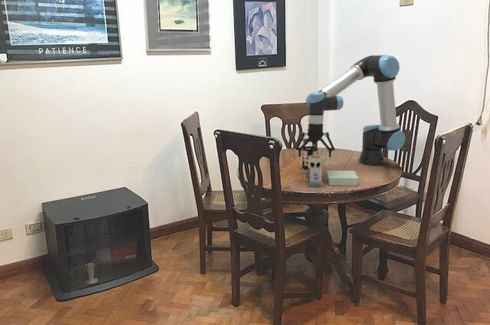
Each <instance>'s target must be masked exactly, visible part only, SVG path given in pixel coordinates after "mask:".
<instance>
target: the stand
mask: <svg viewBox="0 0 490 325" xmlns="http://www.w3.org/2000/svg"><path fill="white" fill-rule="evenodd" d="M326 178H327V182H328V185H329V186H341V187H342V186H344V187H345V186H347V187H350V186H351V187H352V186H354V187H355V186H357V187H358V183H359V182H358V180H359V176H358V175H357V173H356V171H355V170H326Z"/></svg>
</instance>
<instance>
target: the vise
mask: <svg viewBox="0 0 490 325" xmlns="http://www.w3.org/2000/svg"><path fill="white" fill-rule="evenodd" d="M309 172H310V180H309V181H307V187H310V188H311V187H312V188H324V187H325V184H324V182H323V180H322V179H323V166H322V167H310V169H309V168H308V169H307V172H305V178H309Z"/></svg>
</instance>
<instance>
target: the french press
mask: <svg viewBox="0 0 490 325" xmlns="http://www.w3.org/2000/svg"><path fill="white" fill-rule="evenodd" d="M306 131H308V128H307V129H306ZM308 138H309V137H304V138H303V140H302V142H303V143H304V142H305V141H306V140H307V139H308ZM303 143H302V144H303ZM311 143H312V144H314V145H317V144H318V141H311V140H310V142H309V145H306V146H305V147H304V148H303V149H302V151H303V152H302V165H301V169H304V170H308V166H305V165H304V162H305V160H308V156H311V155H314V152H316V155H318V156H319V154H318V153H319V152H318V150H319V149H318V147H317V146H314V145H311ZM304 152H306V155H304ZM306 164H308V162H306Z"/></svg>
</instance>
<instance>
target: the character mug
mask: <svg viewBox="0 0 490 325" xmlns="http://www.w3.org/2000/svg"><path fill="white" fill-rule="evenodd" d="M304 161H305V162H304V165H305V166H308V168H309V169H310V167H322V168H323V167H325V166H326V159H323V156H322V155H319V154H318V155H317V154H313V155H311V156H308V160H307V159H304ZM306 162H308V164H306ZM322 162H323V163H322ZM308 180H309V181H310V172H309V177H308Z"/></svg>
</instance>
